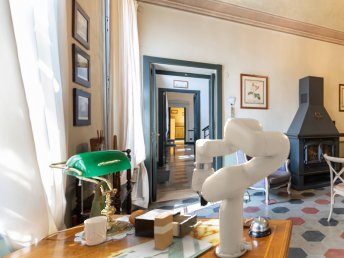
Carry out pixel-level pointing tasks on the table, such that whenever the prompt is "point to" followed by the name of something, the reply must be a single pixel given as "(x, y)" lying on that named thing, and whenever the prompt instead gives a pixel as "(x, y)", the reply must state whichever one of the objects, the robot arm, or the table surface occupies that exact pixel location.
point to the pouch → (98, 201)
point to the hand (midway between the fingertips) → (204, 205)
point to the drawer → (184, 224)
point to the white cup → (95, 230)
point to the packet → (163, 230)
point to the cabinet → (149, 222)
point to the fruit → (134, 215)
